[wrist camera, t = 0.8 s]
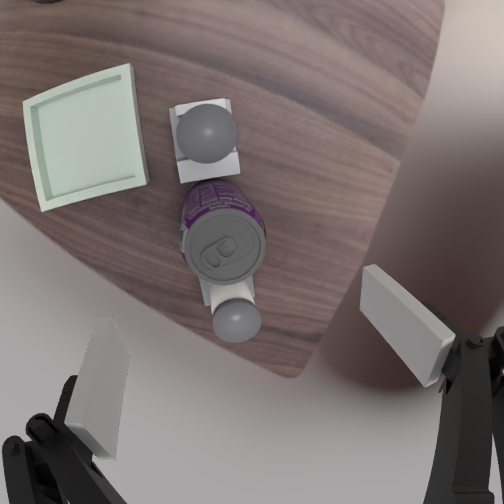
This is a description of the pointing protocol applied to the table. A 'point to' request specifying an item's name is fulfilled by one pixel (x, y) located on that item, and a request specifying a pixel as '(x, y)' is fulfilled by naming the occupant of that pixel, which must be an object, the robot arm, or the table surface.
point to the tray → (86, 138)
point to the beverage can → (221, 233)
